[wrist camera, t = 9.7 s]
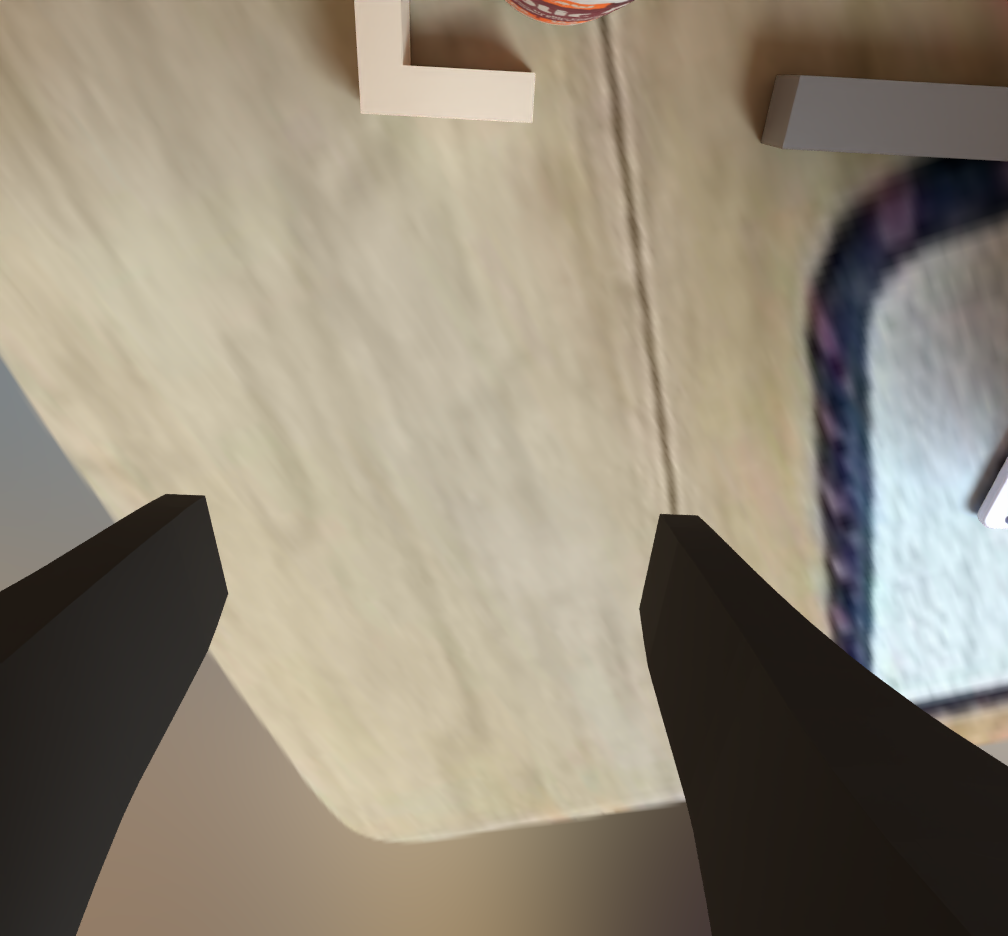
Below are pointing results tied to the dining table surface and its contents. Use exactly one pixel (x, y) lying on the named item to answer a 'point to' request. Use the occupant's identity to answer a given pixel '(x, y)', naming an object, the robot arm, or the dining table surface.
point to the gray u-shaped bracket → (888, 117)
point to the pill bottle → (566, 10)
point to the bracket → (428, 75)
